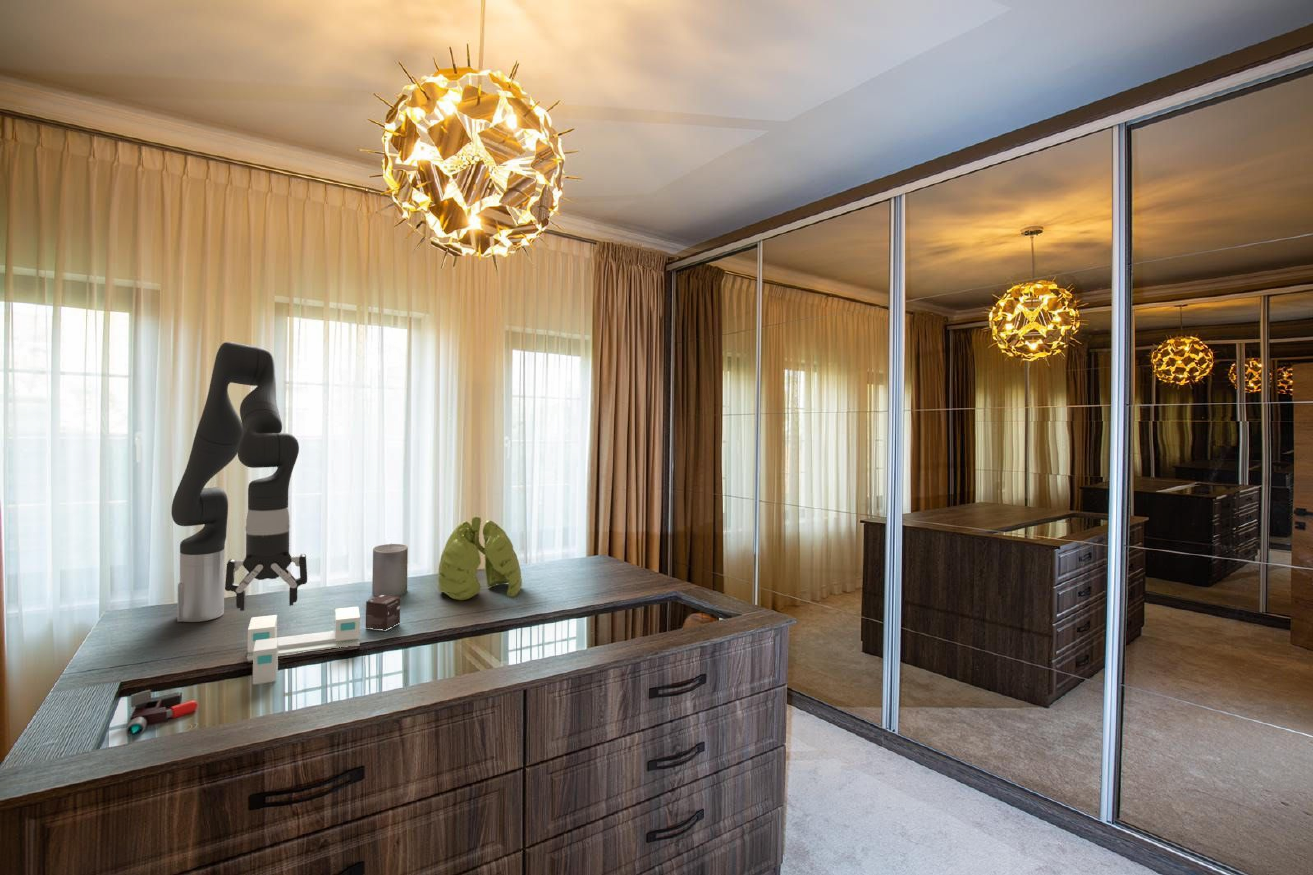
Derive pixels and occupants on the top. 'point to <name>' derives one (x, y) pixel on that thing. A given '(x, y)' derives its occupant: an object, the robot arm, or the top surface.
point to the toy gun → (156, 709)
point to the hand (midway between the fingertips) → (267, 607)
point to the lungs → (477, 560)
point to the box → (382, 612)
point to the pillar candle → (390, 570)
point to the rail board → (341, 637)
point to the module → (265, 661)
